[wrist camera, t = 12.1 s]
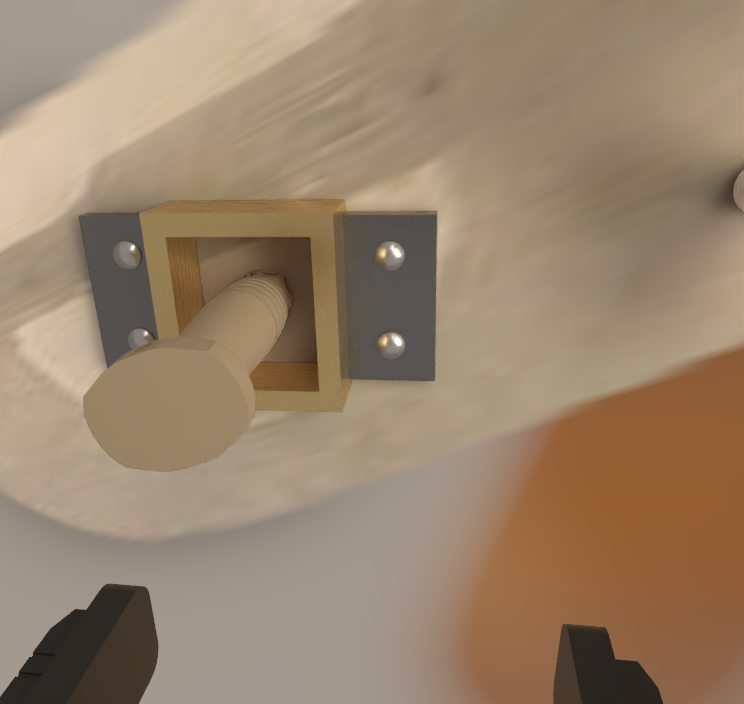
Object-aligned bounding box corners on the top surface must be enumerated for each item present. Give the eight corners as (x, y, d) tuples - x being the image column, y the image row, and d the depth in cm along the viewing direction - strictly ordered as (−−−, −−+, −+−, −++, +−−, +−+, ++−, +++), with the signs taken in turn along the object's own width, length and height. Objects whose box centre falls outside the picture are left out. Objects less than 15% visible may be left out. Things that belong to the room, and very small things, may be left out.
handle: (200, 275, 38) (61, 382, 24) (299, 236, 37) (210, 327, 23) (237, 348, 40) (124, 487, 26) (333, 313, 38) (268, 442, 24)
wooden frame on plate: (85, 201, 37) (45, 214, 34) (437, 198, 35) (435, 212, 31) (118, 376, 41) (85, 404, 38) (434, 383, 39) (433, 414, 35)
